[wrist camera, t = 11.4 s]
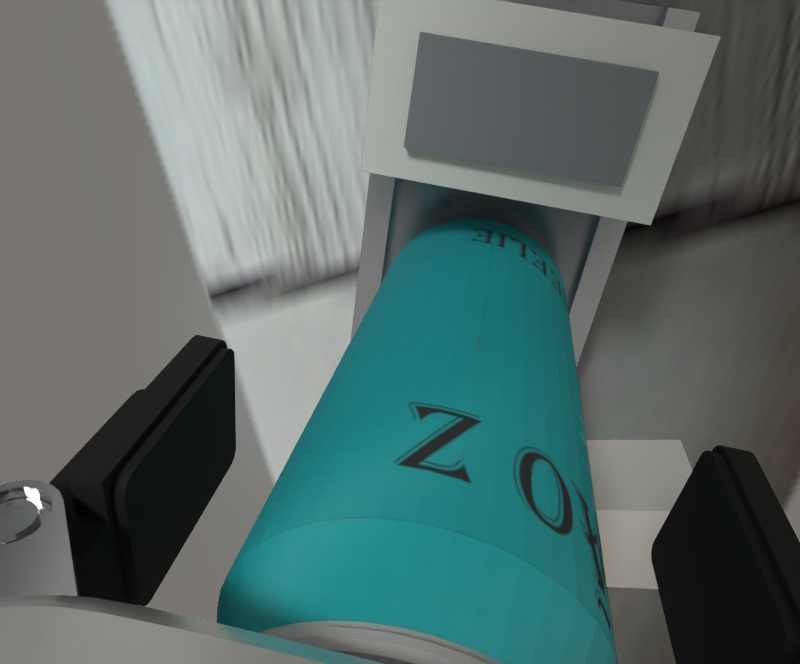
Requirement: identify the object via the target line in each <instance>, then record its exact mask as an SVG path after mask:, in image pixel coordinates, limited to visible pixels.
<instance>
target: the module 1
mask: <svg viewBox="0 0 800 664" xmlns="http://www.w3.org/2000/svg"><path fill="white" fill-rule="evenodd" d="M720 38H721V36H716V35H709V34H703V33H697V32H691V31H685V30H679V29H672V28H666V27H660V26H654V25H648V24H642V23H635V22H629V21H623V20H617V19H611V18H604V17H598V16H592V15H586V14H580V13H574V12H567V11H561V10H555V9H549V8H543V7H537V6H530V5H524V4H518V3H512V2H506V1H499V0H379V6H378V15H377V24H376V34H375V43H374V52H373V62H372V71H371V80H370V90H369V99H368V108H367V118H366V127H365V136H364V145H363V155H362V164H361V171H364V172H369V173H375V174H380V175H385V176H391V177H396V178H401V179H407V180H412V181H417V182H422V183H428V184H433V185H438V186H444V187H449V188H454V189H460V190H465V191H470V192H476V193H481V194H486V195H492V196H497V197H502V198H508V199H513V200H518V201H524V202H529V203H534V204H540V205H545V206H550V207H556V208H561V209H566V210H571V211H577V212H582V213H587V214H593V215H598V216H603V217H609V218H614V219H619V220H625V221H630V222H635V223H641V224H646V225H651V223H652V221H653V218H654V215H655V213H656V210H657V207H658V205H659V202H660V199H661V197H662V194H663V191H664V188H665V186H666V183H667V180H668V178H669V175H670V172H671V170H672V167H673V164H674V162H675V159H676V156H677V153H678V151H679V148H680V145H681V143H682V140H683V137H684V135H685V132H686V129H687V127H688V124H689V121H690V118H691V116H692V113H693V110H694V108H695V105H696V102H697V100H698V97H699V94H700V92H701V89H702V86H703V83H704V81H705V78H706V75H707V73H708V70H709V67H710V65H711V62H712V59H713V57H714V54H715V51H716V48H717V46H718V43H719V40H720Z"/></svg>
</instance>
